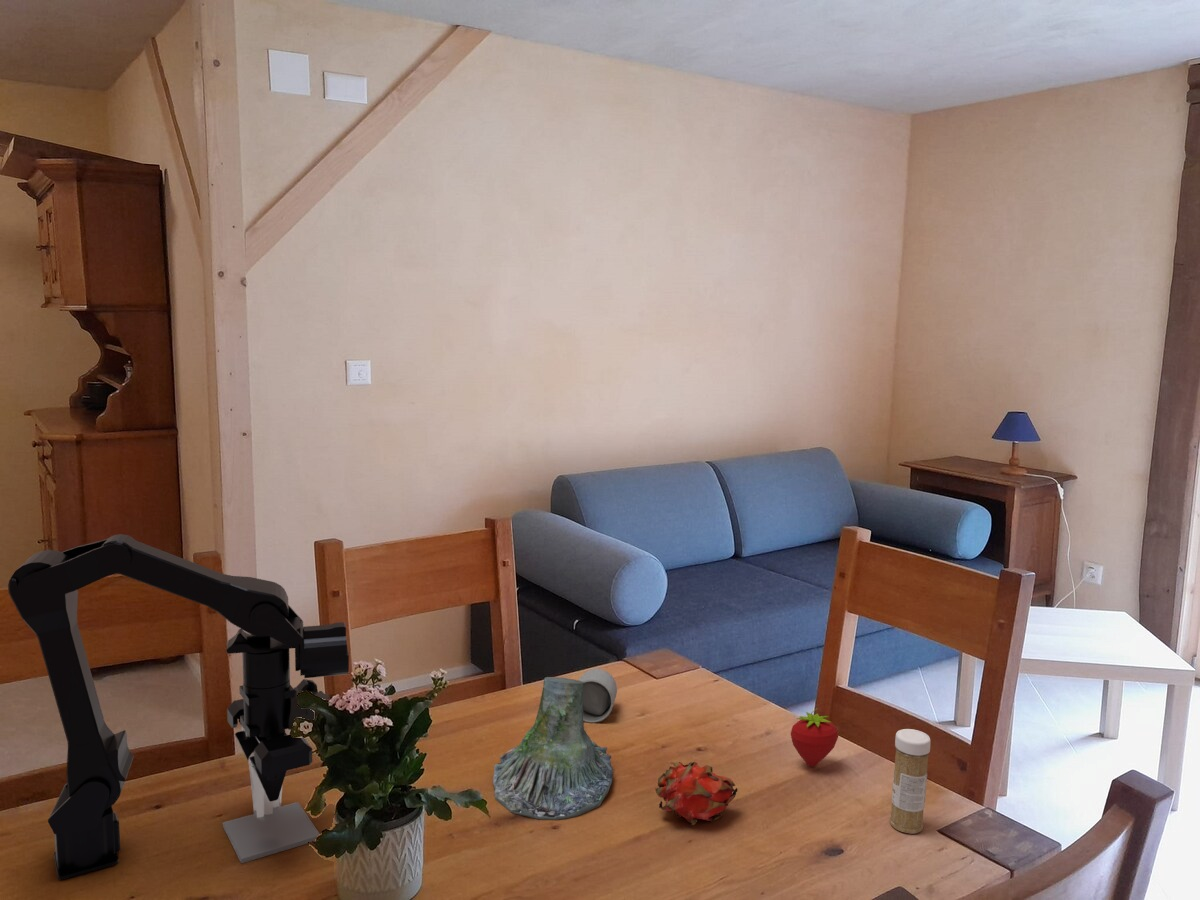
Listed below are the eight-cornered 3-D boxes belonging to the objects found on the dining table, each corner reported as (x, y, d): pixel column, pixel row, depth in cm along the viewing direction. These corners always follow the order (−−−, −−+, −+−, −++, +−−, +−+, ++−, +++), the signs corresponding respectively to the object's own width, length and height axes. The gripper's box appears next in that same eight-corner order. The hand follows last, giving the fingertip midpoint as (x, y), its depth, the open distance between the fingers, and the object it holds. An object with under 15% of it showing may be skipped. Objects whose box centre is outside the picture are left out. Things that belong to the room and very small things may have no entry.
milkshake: (279, 827, 118) (278, 755, 116) (241, 820, 119) (241, 749, 117) (297, 808, 122) (297, 739, 121) (261, 802, 123) (260, 733, 122)
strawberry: (843, 774, 141) (847, 712, 139) (797, 777, 139) (801, 715, 138) (826, 756, 147) (830, 697, 145) (782, 759, 145) (785, 700, 144)
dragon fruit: (646, 825, 128) (727, 833, 130) (662, 818, 121) (748, 826, 122) (648, 762, 132) (727, 771, 134) (664, 752, 125) (747, 761, 126)
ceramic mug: (618, 705, 164) (618, 664, 163) (612, 724, 156) (613, 682, 155) (560, 702, 166) (560, 661, 165) (552, 721, 158) (552, 678, 156)
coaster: (241, 863, 114) (241, 859, 114) (222, 826, 122) (222, 822, 122) (320, 839, 120) (320, 835, 120) (297, 805, 128) (297, 801, 128)
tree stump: (464, 808, 129) (473, 680, 131) (523, 778, 148) (530, 666, 150) (584, 829, 123) (592, 693, 125) (630, 795, 142) (636, 678, 144)
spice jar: (891, 814, 129) (897, 725, 127) (925, 822, 128) (932, 731, 126) (887, 830, 125) (894, 738, 123) (922, 838, 123) (929, 745, 122)
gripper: (352, 692, 115) (353, 808, 117) (306, 647, 130) (308, 750, 132) (261, 711, 109) (264, 833, 111) (224, 662, 124) (227, 770, 126)
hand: (269, 793), depth 120 cm, fingers closed on milkshake, 4 cm apart
